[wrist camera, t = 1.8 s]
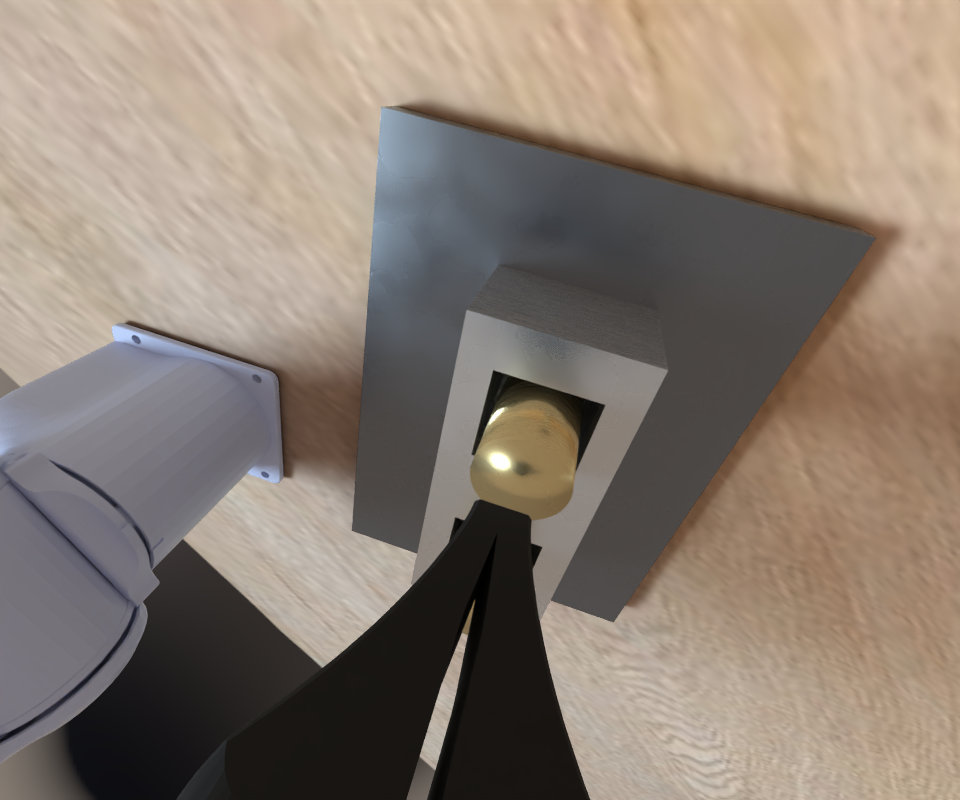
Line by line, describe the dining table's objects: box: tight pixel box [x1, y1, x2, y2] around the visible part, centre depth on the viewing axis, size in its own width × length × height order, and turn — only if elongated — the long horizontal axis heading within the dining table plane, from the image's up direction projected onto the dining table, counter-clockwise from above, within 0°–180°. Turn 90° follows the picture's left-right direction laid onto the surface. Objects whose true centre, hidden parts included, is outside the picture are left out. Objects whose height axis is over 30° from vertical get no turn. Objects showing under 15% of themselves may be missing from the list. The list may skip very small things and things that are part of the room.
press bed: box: [352, 106, 876, 622], centre depth 22 cm, size 16×22×1 cm
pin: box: [470, 375, 584, 520], centre depth 15 cm, size 3×3×4 cm
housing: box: [411, 265, 668, 620], centre depth 19 cm, size 6×14×4 cm, turn 168°
